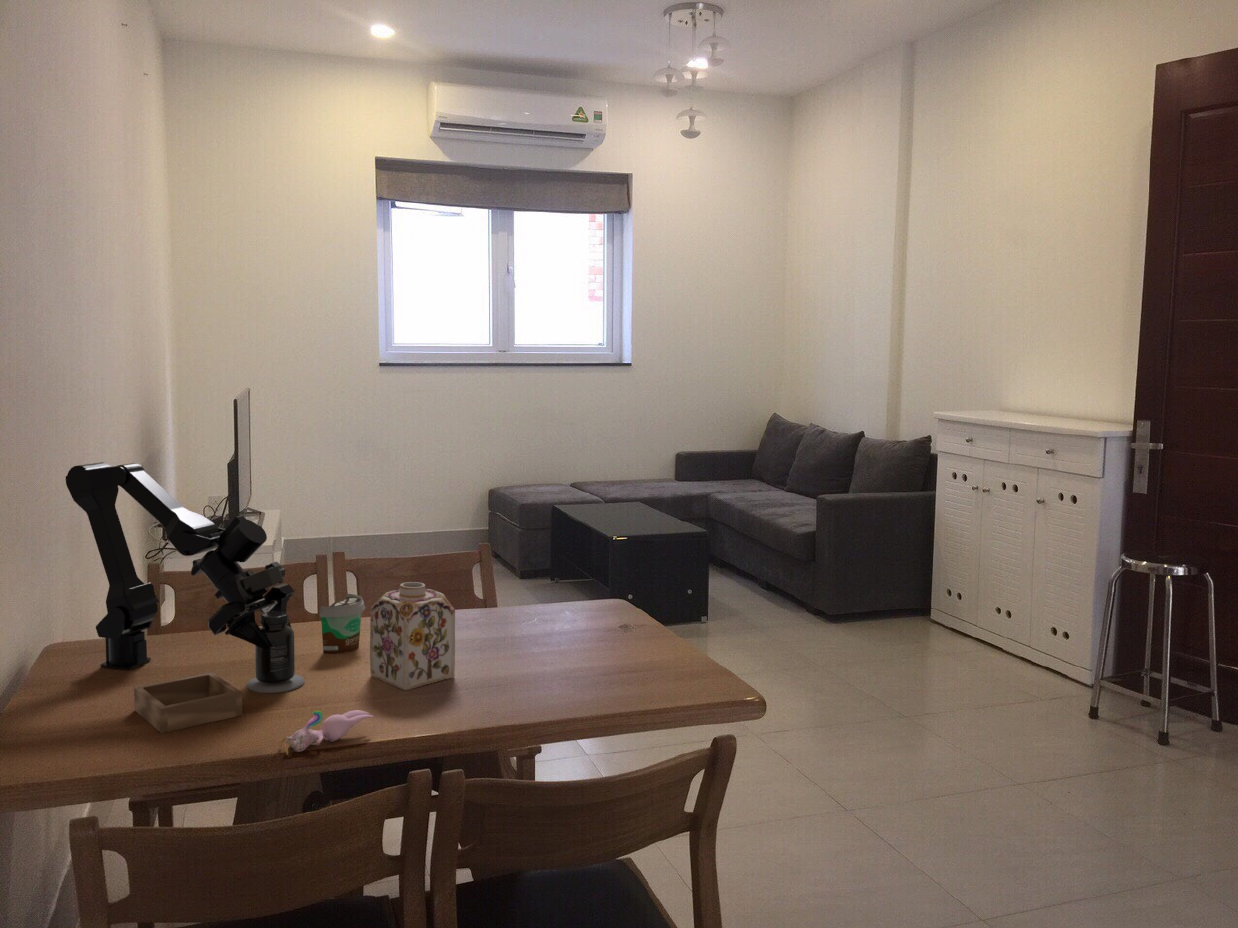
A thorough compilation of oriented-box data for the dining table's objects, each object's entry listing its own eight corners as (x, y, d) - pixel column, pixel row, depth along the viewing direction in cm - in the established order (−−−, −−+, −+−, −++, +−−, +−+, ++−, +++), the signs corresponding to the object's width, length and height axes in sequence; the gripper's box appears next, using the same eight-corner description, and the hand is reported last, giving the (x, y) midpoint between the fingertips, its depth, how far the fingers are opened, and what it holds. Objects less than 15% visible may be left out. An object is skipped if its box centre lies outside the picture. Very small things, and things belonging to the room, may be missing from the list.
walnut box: (134, 710, 170) (134, 687, 169) (212, 694, 179) (212, 672, 178) (161, 733, 160) (160, 708, 160) (242, 714, 169) (241, 691, 169)
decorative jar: (368, 676, 190) (368, 583, 188) (419, 663, 199) (419, 574, 197) (405, 692, 182) (406, 594, 180) (457, 678, 191) (457, 585, 189)
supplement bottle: (299, 672, 188) (299, 609, 187) (287, 684, 181) (287, 619, 180) (263, 670, 188) (263, 608, 187) (249, 683, 181) (248, 618, 180)
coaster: (235, 690, 181) (235, 687, 181) (266, 673, 191) (266, 671, 190) (285, 695, 179) (285, 693, 179) (314, 678, 188) (314, 676, 188)
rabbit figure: (292, 767, 152) (382, 730, 162) (286, 731, 151) (376, 695, 160) (276, 754, 157) (364, 718, 166) (269, 719, 156) (358, 685, 165)
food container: (348, 658, 201) (348, 609, 200) (319, 655, 202) (319, 606, 201) (375, 641, 213) (375, 595, 212) (348, 638, 214) (348, 592, 213)
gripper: (221, 560, 174) (277, 629, 172) (286, 541, 192) (337, 604, 190) (184, 599, 177) (238, 668, 175) (250, 577, 195) (300, 640, 193)
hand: (281, 643), depth 183 cm, fingers closed on supplement bottle, 6 cm apart
